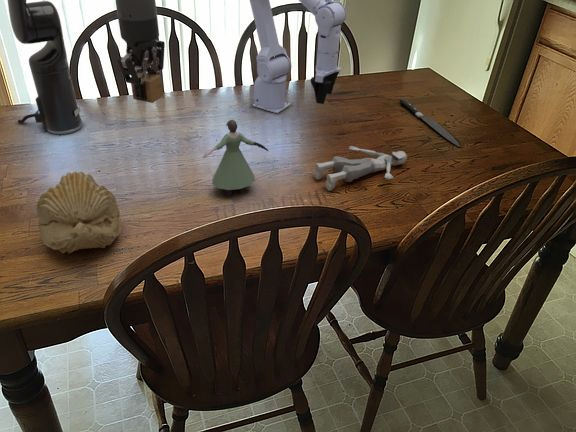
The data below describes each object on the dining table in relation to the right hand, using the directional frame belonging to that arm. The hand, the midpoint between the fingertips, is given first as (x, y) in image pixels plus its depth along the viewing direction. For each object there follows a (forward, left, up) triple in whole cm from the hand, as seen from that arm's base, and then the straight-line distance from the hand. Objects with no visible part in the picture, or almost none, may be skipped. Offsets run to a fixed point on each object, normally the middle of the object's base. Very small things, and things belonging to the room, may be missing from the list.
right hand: (323, 98), depth 143 cm
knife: (+26, +21, -8) cm, 34 cm away
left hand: (-18, -49, +13) cm, 54 cm away
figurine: (+22, -18, -8) cm, 30 cm away
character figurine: (0, -42, -8) cm, 43 cm away
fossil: (-14, -75, -8) cm, 77 cm away
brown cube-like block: (-18, -49, +12) cm, 54 cm away
